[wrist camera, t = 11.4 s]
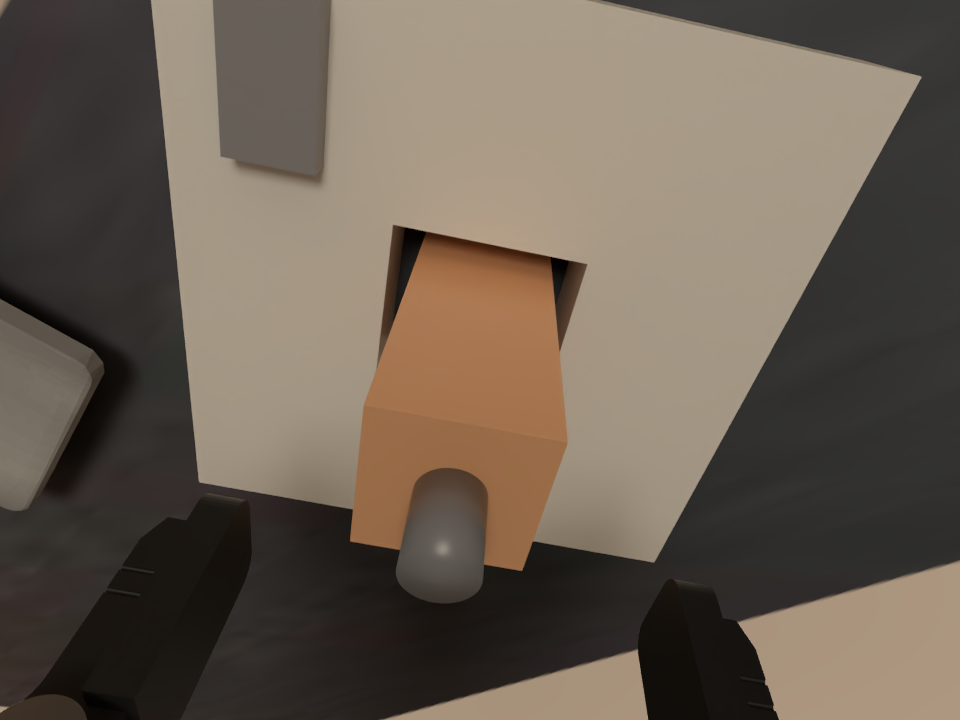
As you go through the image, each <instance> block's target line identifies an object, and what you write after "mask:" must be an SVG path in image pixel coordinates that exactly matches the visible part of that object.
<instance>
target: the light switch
mask: <svg viewBox="0 0 960 720" xmlns="http://www.w3.org/2000/svg"><path fill="white" fill-rule="evenodd" d="M104 373H105V372H104V365H103V362H102V361H101V359H100V358H99V357H98V355H97V354H96V353H95V352H94V350H92V349H90V348H88V347H87V346H85V345H83V344H81V343H79V342H77V341H76V340H74V339H72V338H70V337H68V336H66V335H65V334H63V333H61V332H59V331H57V330H56V329H54V328H52V327H50V326H48V325H46V324H45V323H43V322H41V321H39V320H37V319H36V318H34V317H32V316H30V315H28V314H26V313H25V312H23V311H21V310H19V309H17V308H16V307H14V306H12V305H10V304H8V303H6V302H5V301H3V300H1V299H0V506H1V507H3V508H5V509H8V510H12V511H21V510H26V509H27V508H29V507H30V506H31V505H32V504H33V503H34V502H35V501H36V500H37V499H38V498H39V497H40V495H41V493H42V491H43V489H44V487H45V486H46V484H47V482H48V480H49V478H50V476H51V474H52V473H53V471H54V469H55V467H56V465H57V463H58V461H59V459H60V457H61V455H62V453H63V452H64V450H65V448H66V446H67V444H68V442H69V440H70V438H71V436H72V434H73V432H74V430H75V428H76V426H77V425H78V423H79V421H80V419H81V417H82V415H83V413H84V411H85V409H86V407H87V405H88V403H89V401H90V399H91V397H92V395H93V393H94V391H95V390H96V388H97V386H98V384H99V382H100V380H101V378H102V376H103V375H104Z"/></svg>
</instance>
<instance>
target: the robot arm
mask: <svg viewBox="0 0 960 720" xmlns="http://www.w3.org/2000/svg"><path fill="white" fill-rule="evenodd" d="M251 553H252V549H251V526H250V506H249V502H248V501H247V500H243V499H238V498H232V497H227V496H221V495H216V494H210V493H206V494H205V495H203V496H202V497H201V499H200V500H199V501H198V503H197V504H196V506H195V508H194V509H193V511H192V512H191V514H190V516H189V517H188V519H187V520H181V519H175V518H169V517H168V518H166V519H165V520H164V521H163V522H161V523H160V524H159V525H157V526H156V527H155V528H153V529H152V530H151V531H149V532H148V533H147V534H146V535H144V536H143V537H142V538H141V539H140V540H139V542H138V543H137V544H136V546H135V547H134V549H133V550H132V552H131V553H130V555H129V556H128V558H127V559H126V561H125V562H124V563H123V567H122V569H121V570H119V571H118V572H117V574H116V575H115V577H114V578H113V580H112V581H111V582H110V584H109V585H108V588H107V591H106V592H105V593H103V594H102V596H101V597H100V599H99V600H98V601H97V603H96V604H95V606H94V607H93V609H92V610H91V612H90V613H89V615H88V616H87V617H86V619H85V620H84V622H83V623H82V625H81V626H80V628H79V629H78V631H77V632H76V634H75V635H74V636H73V638H72V639H71V641H70V642H69V644H68V645H67V647H66V648H65V650H64V651H63V653H62V654H61V655H60V657H59V658H58V660H57V661H56V663H55V664H54V666H53V667H52V669H51V670H50V672H49V673H48V674H47V676H46V677H45V678H44V680H43V681H42V682H41V684H40V685H39V686H38V687H37V688H36V689H35V690H34V691H33V692H32V693H31V694H30V695H29V696H28V697H27V698H25V699H24V700H23V701H21V702H19V703H16V704H14V705H12V706H11V707H9V708H7V709H6V710H4V711H2V712H1V713H0V720H180V719H181V717H182V715H183V713H184V711H185V709H186V706H187V704H188V702H189V700H190V698H191V696H192V694H193V691H194V689H195V687H196V685H197V683H198V681H199V679H200V676H201V674H202V672H203V670H204V668H205V666H206V664H207V661H208V659H209V657H210V655H211V653H212V651H213V649H214V646H215V644H216V642H217V640H218V638H219V636H220V634H221V631H222V629H223V627H224V625H225V623H226V621H227V619H228V616H229V614H230V612H231V610H232V608H233V606H234V604H235V601H236V599H237V597H238V595H239V593H240V591H241V589H242V586H243V584H244V582H245V579H246V576H247V573H248V570H249V566H250V561H251ZM638 655H639V662H640V668H641V675H642V681H643V688H644V694H645V701H646V707H647V714H648V720H779V719H778V716H777V713H776V711H774V710H773V705H774V704H773V701H772V698H771V695H770V692H769V689H768V686H766V685H765V676H764V673H763V670H762V667H761V664H760V661H759V658H758V655H757V652H756V649H755V648H754V646H753V645H752V643H751V642H750V640H749V639H748V637H747V636H746V634H745V633H744V632H743V630H742V629H741V627H740V626H739V624H738V623H737V621H734V620H729V619H723V617H722V614H721V611H720V607H719V604H718V600H717V597H716V594H715V592H714V590H713V589H712V588H711V587H710V586H708V585H703V584H697V583H692V582H686V581H681V580H675V579H669V580H667V581H666V583H665V584H664V586H663V588H662V589H661V591H660V593H659V594H658V596H657V598H656V600H655V601H654V603H653V605H652V607H651V608H650V610H649V612H648V614H647V615H646V617H645V619H644V621H643V623H642V625H641V628H640V633H639V640H638Z"/></svg>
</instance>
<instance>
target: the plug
mask: <svg viewBox="0 0 960 720" xmlns="http://www.w3.org/2000/svg"><path fill="white" fill-rule="evenodd" d="M567 444H568V438H567V427H566V417H565V406H564V395H563V385H562V374H561V364H560V353H559V342H558V332H557V321H556V310H555V300H554V289H553V279H552V268H551V257H550V256H545V255H540V254H535V253H530V252H525V251H520V250H515V249H510V248H505V247H500V246H496V245H491V244H486V243H481V242H476V241H471V240H466V239H461V238H456V237H451V236H446V235H441V234H437V233H432V232H426V235H425V237H424V240H423V243H422V246H421V248H420V251H419V254H418V257H417V260H416V262H415V265H414V268H413V271H412V273H411V276H410V279H409V282H408V284H407V287H406V290H405V293H404V295H403V298H402V301H401V304H400V306H399V309H398V312H397V315H396V317H395V320H394V323H393V326H392V328H391V331H390V334H389V337H388V339H387V342H386V345H385V348H384V350H383V353H382V356H381V359H380V361H379V364H378V367H377V370H376V372H375V375H374V378H373V381H372V383H371V386H370V389H369V392H368V394H367V397H366V400H365V403H364V407H363V417H362V427H361V437H360V446H359V456H358V466H357V476H356V486H355V496H354V506H353V516H352V526H351V536H350V541H351V542H357V543H363V544H368V545H374V546H380V547H386V548H392V549H397V550H400V553H399V558H398V562H397V567H396V577H397V580H398V582H399V584H400V585H401V586H402V587H403V588H404V589H405V590H406V591H407V592H408V593H410V594H411V595H413V596H415V597H417V598H419V599H422V600H425V601H428V602H433V603H455V602H460V601H463V600H466V599H468V598H470V597H472V596H473V595H474V594H476V593H477V592H478V591H479V589H480V588H481V586H482V583H483V572H484V564H485V565H490V566H496V567H502V568H508V569H514V570H519V571H522V570H523V567H524V564H525V561H526V559H527V556H528V553H529V550H530V547H531V545H532V542H533V539H534V536H535V533H536V531H537V528H538V525H539V522H540V519H541V517H542V514H543V511H544V508H545V505H546V503H547V500H548V497H549V494H550V491H551V489H552V486H553V483H554V480H555V477H556V475H557V472H558V469H559V466H560V463H561V461H562V458H563V455H564V452H565V450H566V447H567Z"/></svg>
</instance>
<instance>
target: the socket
mask: <svg viewBox="0 0 960 720" xmlns="http://www.w3.org/2000/svg"><path fill="white" fill-rule="evenodd" d="M151 3H152V14H153V24H154V34H155V44H156V54H157V64H158V74H159V84H160V94H161V104H162V114H163V124H164V134H165V144H166V154H167V164H168V174H169V185H170V195H171V205H172V215H173V225H174V235H175V245H176V255H177V265H178V275H179V285H180V295H181V305H182V315H183V325H184V335H185V345H186V355H187V366H188V376H189V386H190V396H191V406H192V416H193V426H194V436H195V446H196V456H197V466H198V476H199V482H201V483H207V484H212V485H218V486H224V487H229V488H235V489H241V490H246V491H252V492H258V493H263V494H269V495H275V496H280V497H286V498H292V499H297V500H303V501H309V502H314V503H320V504H326V505H331V506H337V507H343V508H348V509H353V506H354V496H355V486H356V476H357V466H358V456H359V446H360V437H361V427H362V417H363V407H364V403H365V400H366V397H367V394H368V392H369V389H370V386H371V383H372V381H373V378H374V375H375V372H376V370H377V367H378V364H379V361H380V359H381V356H382V353H383V350H384V348H385V345H386V342H387V339H388V337H389V334H390V331H391V328H392V326H393V319H394V312H395V304H396V296H397V288H398V280H399V272H400V264H401V256H402V249H403V241H404V233H405V227H407V228H412V229H417V230H422V231H427V232H432V233H437V234H441V235H446V236H451V237H456V238H461V239H466V240H471V241H476V242H481V243H486V244H491V245H496V246H500V247H505V248H510V249H515V250H520V251H525V252H530V253H535V254H540V255H545V256H550V257H555V258H559V259H564V260H569V262H568V266H567V269H566V273H565V276H564V279H563V283H562V286H561V289H560V293H559V296H558V300H557V303H556V306H555V310H556V321H557V332H558V342H559V353H560V364H561V374H562V385H563V395H564V406H565V417H566V427H567V438H568V444H567V447H566V450H565V452H564V455H563V458H562V461H561V463H560V466H559V469H558V472H557V475H556V477H555V480H554V483H553V486H552V489H551V491H550V494H549V497H548V500H547V503H546V505H545V508H544V511H543V514H542V517H541V519H540V522H539V525H538V528H537V531H536V533H535V536H534V539H533V541H535V542H541V543H547V544H552V545H558V546H564V547H569V548H575V549H581V550H586V551H592V552H598V553H603V554H609V555H615V556H620V557H626V558H632V559H637V560H643V561H649V562H655V560H656V558H657V556H658V555H659V553H660V551H661V549H662V547H663V546H664V544H665V542H666V540H667V538H668V536H669V535H670V533H671V531H672V529H673V527H674V526H675V524H676V522H677V520H678V518H679V516H680V515H681V513H682V511H683V509H684V507H685V506H686V504H687V502H688V500H689V498H690V497H691V495H692V493H693V491H694V489H695V487H696V486H697V484H698V482H699V480H700V478H701V477H702V475H703V473H704V471H705V469H706V467H707V466H708V464H709V462H710V460H711V458H712V457H713V455H714V453H715V451H716V449H717V448H718V446H719V444H720V442H721V440H722V438H723V437H724V435H725V433H726V431H727V429H728V428H729V426H730V424H731V422H732V420H733V418H734V417H735V415H736V413H737V411H738V409H739V408H740V406H741V404H742V402H743V400H744V399H745V397H746V395H747V393H748V391H749V389H750V388H751V386H752V384H753V382H754V380H755V379H756V377H757V375H758V373H759V371H760V369H761V368H762V366H763V364H764V362H765V360H766V359H767V357H768V355H769V353H770V351H771V350H772V348H773V346H774V344H775V342H776V340H777V339H778V337H779V335H780V333H781V331H782V330H783V328H784V326H785V324H786V322H787V320H788V319H789V317H790V315H791V313H792V311H793V310H794V308H795V306H796V304H797V302H798V301H799V299H800V297H801V295H802V293H803V291H804V290H805V288H806V286H807V284H808V282H809V281H810V279H811V277H812V275H813V273H814V271H815V270H816V268H817V266H818V264H819V262H820V261H821V259H822V257H823V255H824V253H825V252H826V250H827V248H828V246H829V244H830V242H831V241H832V239H833V237H834V235H835V233H836V232H837V230H838V228H839V226H840V224H841V222H842V221H843V219H844V217H845V215H846V213H847V212H848V210H849V208H850V206H851V204H852V203H853V201H854V199H855V197H856V195H857V193H858V192H859V190H860V188H861V186H862V184H863V183H864V181H865V179H866V177H867V175H868V174H869V172H870V170H871V168H872V166H873V164H874V163H875V161H876V159H877V157H878V155H879V154H880V152H881V150H882V148H883V146H884V144H885V143H886V141H887V139H888V137H889V135H890V134H891V132H892V130H893V128H894V126H895V125H896V123H897V121H898V119H899V117H900V115H901V114H902V112H903V110H904V108H905V106H906V105H907V103H908V101H909V99H910V97H911V95H912V94H913V92H914V90H915V88H916V86H917V85H918V83H919V81H920V79H921V76H917V75H913V74H910V73H906V72H903V71H899V70H895V69H892V68H888V67H885V66H881V65H878V64H874V63H870V62H867V61H863V60H859V59H855V58H851V57H846V56H842V55H837V54H833V53H829V52H824V51H820V50H816V49H811V48H807V47H802V46H798V45H794V44H789V43H785V42H780V41H776V40H772V39H767V38H763V37H759V36H754V35H750V34H745V33H741V32H737V31H732V30H728V29H724V28H719V27H715V26H710V25H706V24H702V23H697V22H693V21H689V20H684V19H680V18H675V17H671V16H667V15H662V14H658V13H653V12H649V11H645V10H640V9H636V8H632V7H627V6H623V5H618V4H614V3H610V2H605V1H601V0H151Z"/></svg>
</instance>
